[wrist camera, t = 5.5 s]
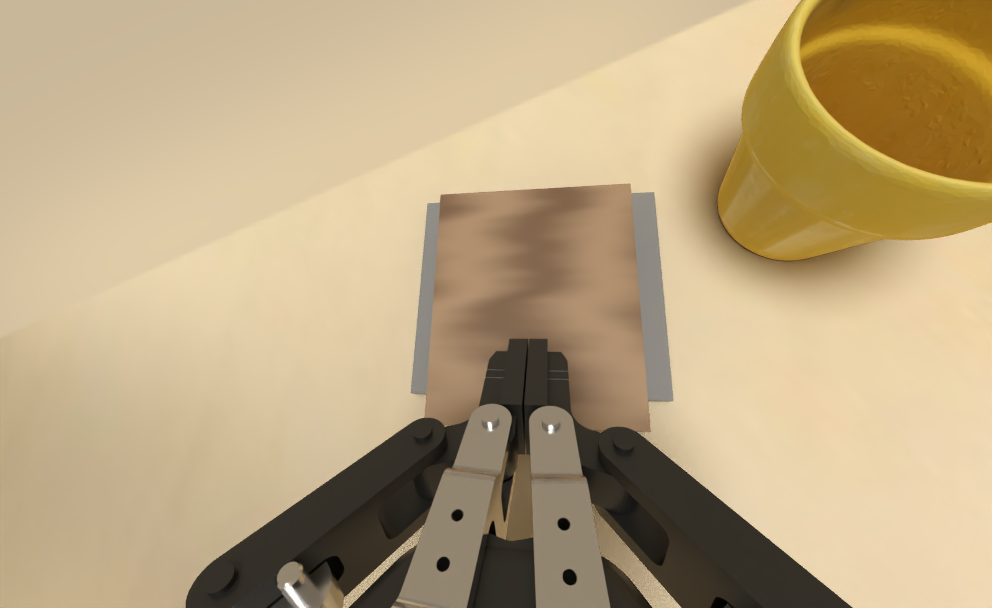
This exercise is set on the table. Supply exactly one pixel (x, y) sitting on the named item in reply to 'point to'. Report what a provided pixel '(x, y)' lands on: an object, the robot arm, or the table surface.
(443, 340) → the walnut tile
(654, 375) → the felt mat
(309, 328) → the table surface
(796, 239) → the plant pot
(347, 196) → the table surface
